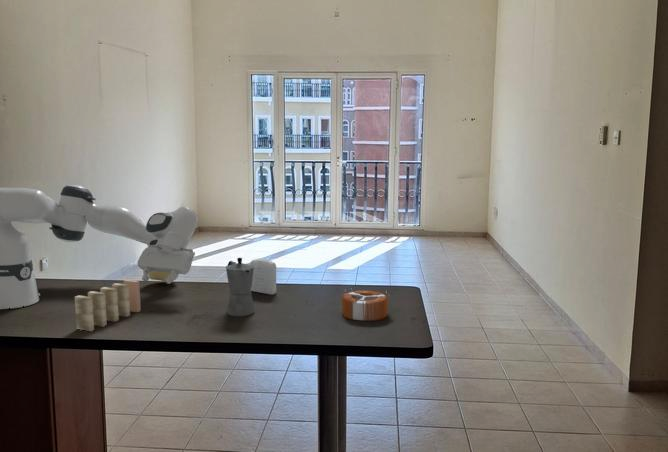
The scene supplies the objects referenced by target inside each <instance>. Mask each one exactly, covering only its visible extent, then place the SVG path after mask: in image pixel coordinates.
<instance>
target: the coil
mask: <svg viewBox="0 0 668 452" xmlns="http://www.w3.org/2000/svg"><path fill="white" fill-rule="evenodd" d="M352 288H353V287H351V288H350V292H347V291H346V289H344V294H343V295H342V296H341V314H342V316H343V317H344V318H346V319H347V320H348V319H349V320H351V321H353V320H356V321H363V322H373V321H379V320H383V319H385V318H387V317H388V308H389V307H388V303H389V302H388V300H389V298H390V295H387V290H386V291H385V294H384V293H382V292H380V291H375V290H355V291H354V290H353V289H352Z"/></svg>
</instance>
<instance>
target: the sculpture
mask: <svg viewBox="0 0 668 452" xmlns="http://www.w3.org/2000/svg"><path fill="white" fill-rule="evenodd" d="M170 274H171V273H167V272H158V271H150V273H148V276H149V277H150V278H149V280H155V281H161V282H164V280H165V278H166V277H168V276H169V275H170ZM179 275H180V274H178V275H177V276H176V277H175V278H174V279H173V280H172V281H171V283H172V282H173V283H174V281H176V280H177V279H178V277H179Z"/></svg>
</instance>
